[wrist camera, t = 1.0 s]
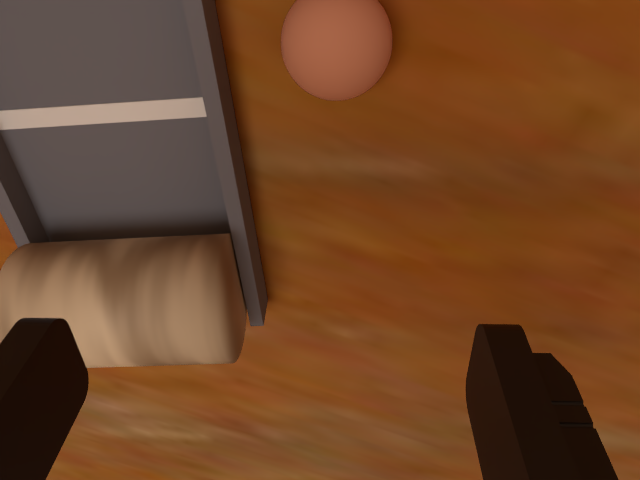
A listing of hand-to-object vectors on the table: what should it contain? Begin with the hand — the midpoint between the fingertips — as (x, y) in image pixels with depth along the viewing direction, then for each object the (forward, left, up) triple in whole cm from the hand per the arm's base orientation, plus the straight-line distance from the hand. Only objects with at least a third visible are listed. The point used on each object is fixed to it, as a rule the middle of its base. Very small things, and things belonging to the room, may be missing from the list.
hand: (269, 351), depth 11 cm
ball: (-1, -2, -19) cm, 19 cm away
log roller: (+11, +11, -19) cm, 24 cm away
